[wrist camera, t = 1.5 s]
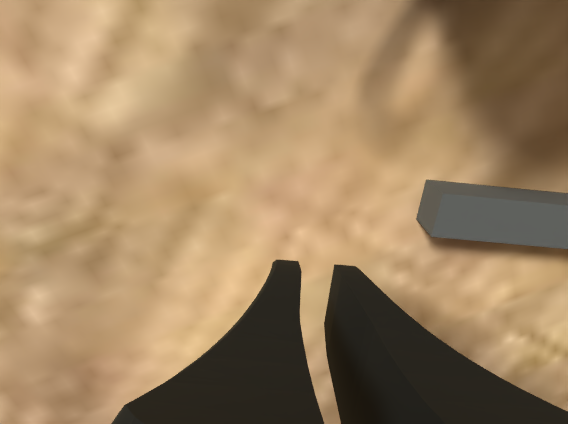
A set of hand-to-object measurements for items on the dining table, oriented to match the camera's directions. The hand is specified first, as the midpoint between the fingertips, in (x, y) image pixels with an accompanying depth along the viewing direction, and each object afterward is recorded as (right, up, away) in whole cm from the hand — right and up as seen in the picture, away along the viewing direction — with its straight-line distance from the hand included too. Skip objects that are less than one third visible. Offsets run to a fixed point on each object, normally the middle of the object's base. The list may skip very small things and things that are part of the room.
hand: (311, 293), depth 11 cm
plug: (+12, +2, +9) cm, 15 cm away
